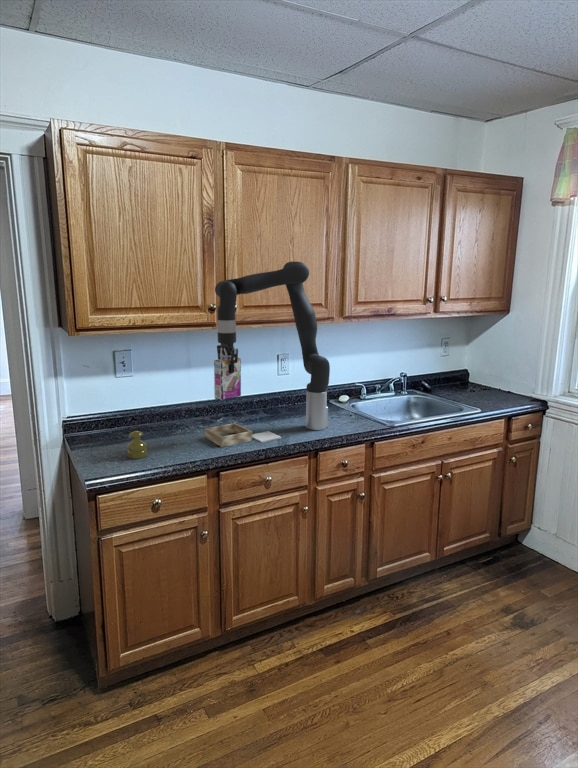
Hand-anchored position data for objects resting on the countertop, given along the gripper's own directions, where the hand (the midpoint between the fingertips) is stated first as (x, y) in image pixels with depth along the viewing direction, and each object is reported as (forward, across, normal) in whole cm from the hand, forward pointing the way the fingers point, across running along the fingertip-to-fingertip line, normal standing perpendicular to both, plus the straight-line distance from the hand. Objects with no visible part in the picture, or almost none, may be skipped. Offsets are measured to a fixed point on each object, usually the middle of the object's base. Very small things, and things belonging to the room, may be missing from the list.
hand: (227, 371), depth 218 cm
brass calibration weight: (+29, +2, +39) cm, 49 cm away
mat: (+29, -7, -14) cm, 33 cm away
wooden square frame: (+29, 0, 0) cm, 29 cm away
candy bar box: (+11, 0, 0) cm, 11 cm away
